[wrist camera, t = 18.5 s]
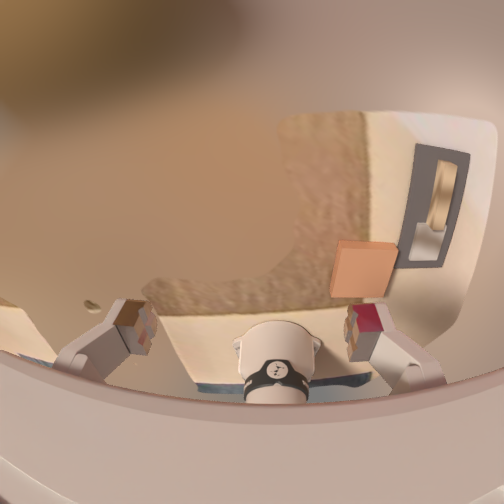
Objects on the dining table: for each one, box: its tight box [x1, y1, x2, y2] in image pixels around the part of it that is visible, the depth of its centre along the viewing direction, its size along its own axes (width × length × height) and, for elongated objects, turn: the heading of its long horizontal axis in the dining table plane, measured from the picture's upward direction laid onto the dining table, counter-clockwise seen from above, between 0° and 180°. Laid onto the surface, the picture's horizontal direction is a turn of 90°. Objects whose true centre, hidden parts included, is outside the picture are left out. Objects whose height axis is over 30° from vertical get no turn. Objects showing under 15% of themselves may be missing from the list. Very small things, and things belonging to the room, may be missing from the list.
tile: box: [329, 240, 399, 297], centre depth 46 cm, size 3×10×10 cm
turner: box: [409, 160, 457, 261], centre depth 39 cm, size 18×6×2 cm, turn 2°
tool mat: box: [393, 144, 470, 268], centre depth 40 cm, size 22×11×1 cm, turn 2°
